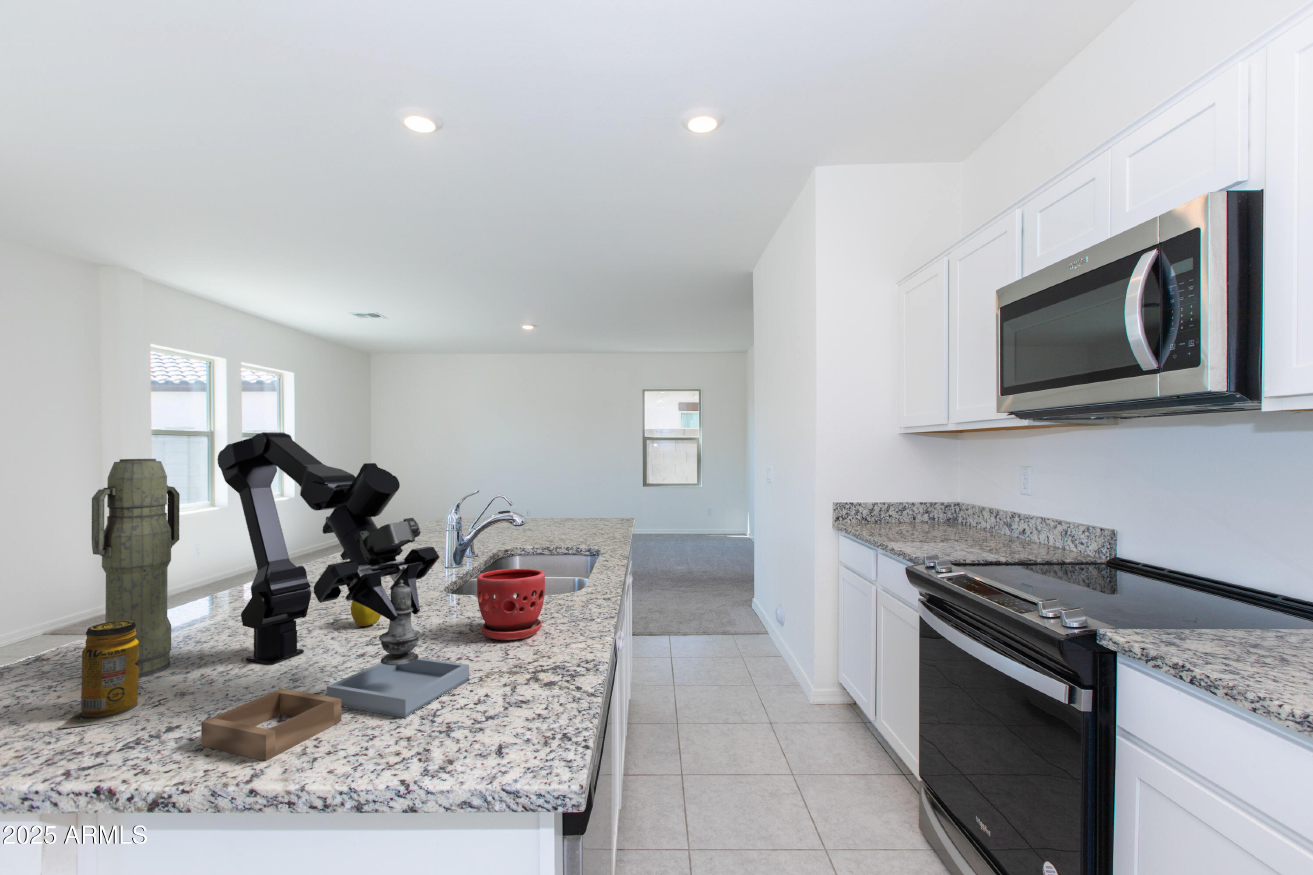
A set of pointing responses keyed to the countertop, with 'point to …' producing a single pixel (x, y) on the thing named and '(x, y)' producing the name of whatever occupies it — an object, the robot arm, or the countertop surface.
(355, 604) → the apple
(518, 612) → the plant pot
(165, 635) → the thermos
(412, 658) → the salt shaker
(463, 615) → the countertop surface
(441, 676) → the tray
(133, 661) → the condiment
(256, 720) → the socket block
